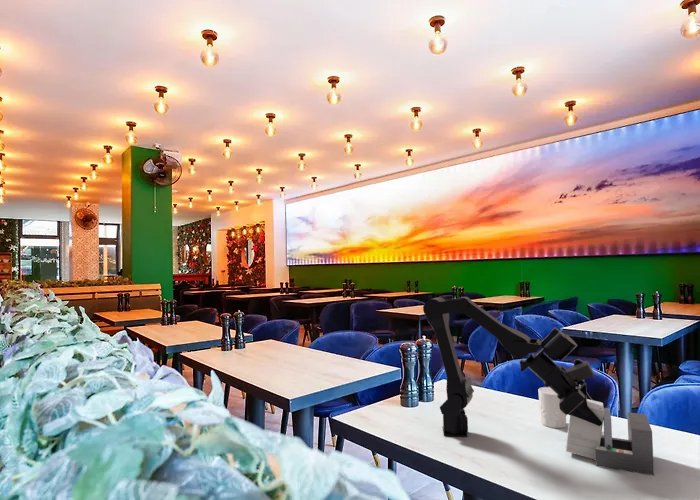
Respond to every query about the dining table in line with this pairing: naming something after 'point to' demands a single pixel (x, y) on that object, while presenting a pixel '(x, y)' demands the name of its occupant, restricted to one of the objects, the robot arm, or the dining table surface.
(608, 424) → the pad
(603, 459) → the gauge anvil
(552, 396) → the white cup
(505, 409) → the dining table surface
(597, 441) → the supplement box
